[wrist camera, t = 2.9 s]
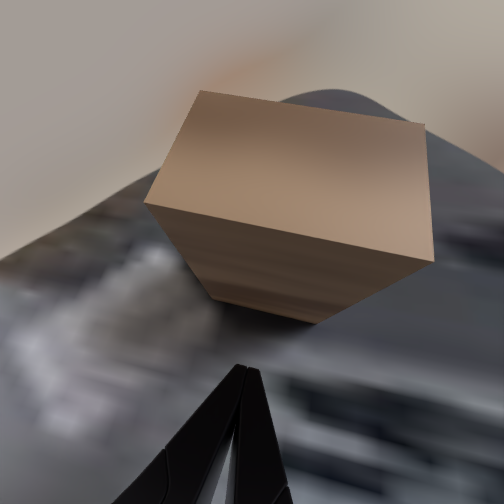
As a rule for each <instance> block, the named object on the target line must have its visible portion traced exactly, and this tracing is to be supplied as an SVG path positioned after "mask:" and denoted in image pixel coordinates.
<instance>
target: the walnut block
mask: <svg viewBox="0 0 504 504" xmlns="http://www.w3.org/2000/svg"><path fill="white" fill-rule="evenodd" d="M144 204H145V205H146V206H147V208H148V209H149V211H150V212H151V213H152V215H153V216H154V218H155V219H156V220H157V222H158V223H159V225H160V226H161V227H162V229H163V230H164V232H165V233H166V235H167V236H168V237H169V239H170V240H171V242H172V243H173V244H174V246H175V247H176V249H177V250H178V251H179V253H180V254H181V256H182V257H183V258H184V260H185V261H186V263H187V264H188V265H189V267H190V268H191V270H192V271H193V273H194V274H195V275H196V277H197V278H198V280H199V281H200V282H201V284H202V285H203V287H204V288H205V289H206V291H207V292H208V294H209V295H210V296H211V298H212V299H214V300H218V301H222V302H226V303H230V304H235V305H239V306H243V307H247V308H251V309H255V310H260V311H264V312H268V313H272V314H276V315H280V316H285V317H289V318H293V319H297V320H301V321H305V322H310V323H314V324H318V323H320V322H322V321H323V320H325V319H327V318H329V317H331V316H333V315H335V314H337V313H339V312H340V311H342V310H344V309H346V308H348V307H350V306H352V305H354V304H356V303H357V302H359V301H361V300H363V299H365V298H367V297H369V296H371V295H373V294H374V293H376V292H378V291H380V290H382V289H384V288H386V287H388V286H390V285H391V284H393V283H395V282H397V281H399V280H401V279H403V278H405V277H406V276H408V275H410V274H412V273H414V272H416V271H418V270H420V269H422V268H423V267H425V266H427V265H429V264H431V263H433V262H434V250H433V235H432V221H431V207H430V193H429V179H428V165H427V150H426V136H425V124H420V123H414V122H407V121H401V120H394V119H387V118H381V117H374V116H367V115H361V114H354V113H347V112H341V111H334V110H328V109H321V108H314V107H308V106H301V105H294V104H288V103H281V102H274V101H267V100H261V99H254V98H247V97H241V96H234V95H228V94H221V93H214V92H207V91H200V92H199V94H198V96H197V98H196V100H195V101H194V104H193V106H192V108H191V109H190V111H189V113H188V116H187V117H186V119H185V121H184V123H183V125H182V127H181V129H180V131H179V133H178V135H177V137H176V140H175V141H174V143H173V145H172V147H171V149H170V151H169V153H168V155H167V157H166V159H165V161H164V163H163V165H162V167H161V169H160V171H159V173H158V175H157V177H156V179H155V181H154V183H153V185H152V187H151V189H150V191H149V193H148V195H147V197H146V199H145V201H144Z"/></svg>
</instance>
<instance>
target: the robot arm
mask: <svg viewBox="0 0 504 504" xmlns="http://www.w3.org/2000/svg"><path fill="white" fill-rule="evenodd" d="M235 424H236V425H235ZM234 429H235V430H234ZM233 433H234V435H233ZM232 437H233V441H232ZM231 441H232V448H231V457H230V465H229V474H228V483H227V492H226V500H225V504H293V501H292V497H291V493H290V489H289V487H288V486H287V485H288V482H287V478H286V474H285V470H284V466H283V462H282V458H281V454H280V450H279V446H278V442H277V438H276V434H275V430H274V426H273V422H272V418H271V414H270V410H269V406H268V402H267V398H266V393H265V389H264V385H263V381H262V377H261V373H260V371H259V369H255V368H252V367H248V369H247V366H244V365H240V364H236V365H235V366H234V367H233V368H232V369H231V370H230V372H229V373H228V374H227V375H226V376H225V377H224V379H223V380H222V381H221V382H220V383H219V384H218V385H217V387H216V388H215V389H214V390H213V391H212V392H211V394H210V395H209V396H208V397H207V398H206V399H205V401H204V402H203V403H202V404H201V405H200V406H199V408H198V409H197V410H196V411H195V412H194V413H193V414H192V416H191V417H190V418H189V419H188V420H187V421H186V423H185V424H184V425H183V426H182V427H181V428H180V430H179V431H178V432H177V433H176V434H175V435H174V436H173V438H172V439H171V440H170V441H169V442H168V443H167V445H166V446H165V449H162V450H161V451H160V453H159V454H158V455H157V456H156V457H155V458H154V459H153V461H152V462H151V463H150V464H149V465H148V466H147V467H146V468H145V469H144V471H143V472H142V473H141V474H140V475H139V476H138V477H137V478H136V479H135V480H134V481H133V482H132V484H131V485H130V486H129V487H128V488H127V489H126V490H125V491H124V492H123V493H122V494H121V495H120V496H119V497H118V498H117V499H116V500H115V501H114V502H113V503H112V504H211V501H212V498H213V495H214V492H215V489H216V486H217V483H218V480H219V477H220V474H221V471H222V468H223V465H224V462H225V459H226V456H227V453H228V450H229V447H230V444H231Z"/></svg>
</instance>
